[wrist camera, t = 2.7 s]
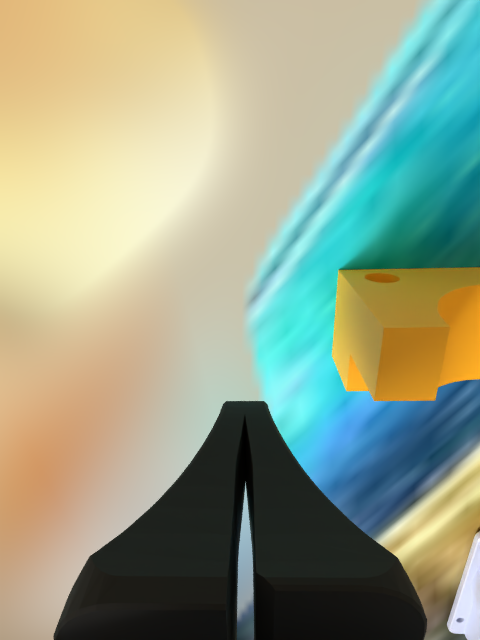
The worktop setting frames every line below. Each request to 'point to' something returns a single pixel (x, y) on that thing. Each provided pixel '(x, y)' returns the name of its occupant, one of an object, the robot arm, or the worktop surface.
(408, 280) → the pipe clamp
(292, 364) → the worktop surface
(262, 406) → the robot arm
